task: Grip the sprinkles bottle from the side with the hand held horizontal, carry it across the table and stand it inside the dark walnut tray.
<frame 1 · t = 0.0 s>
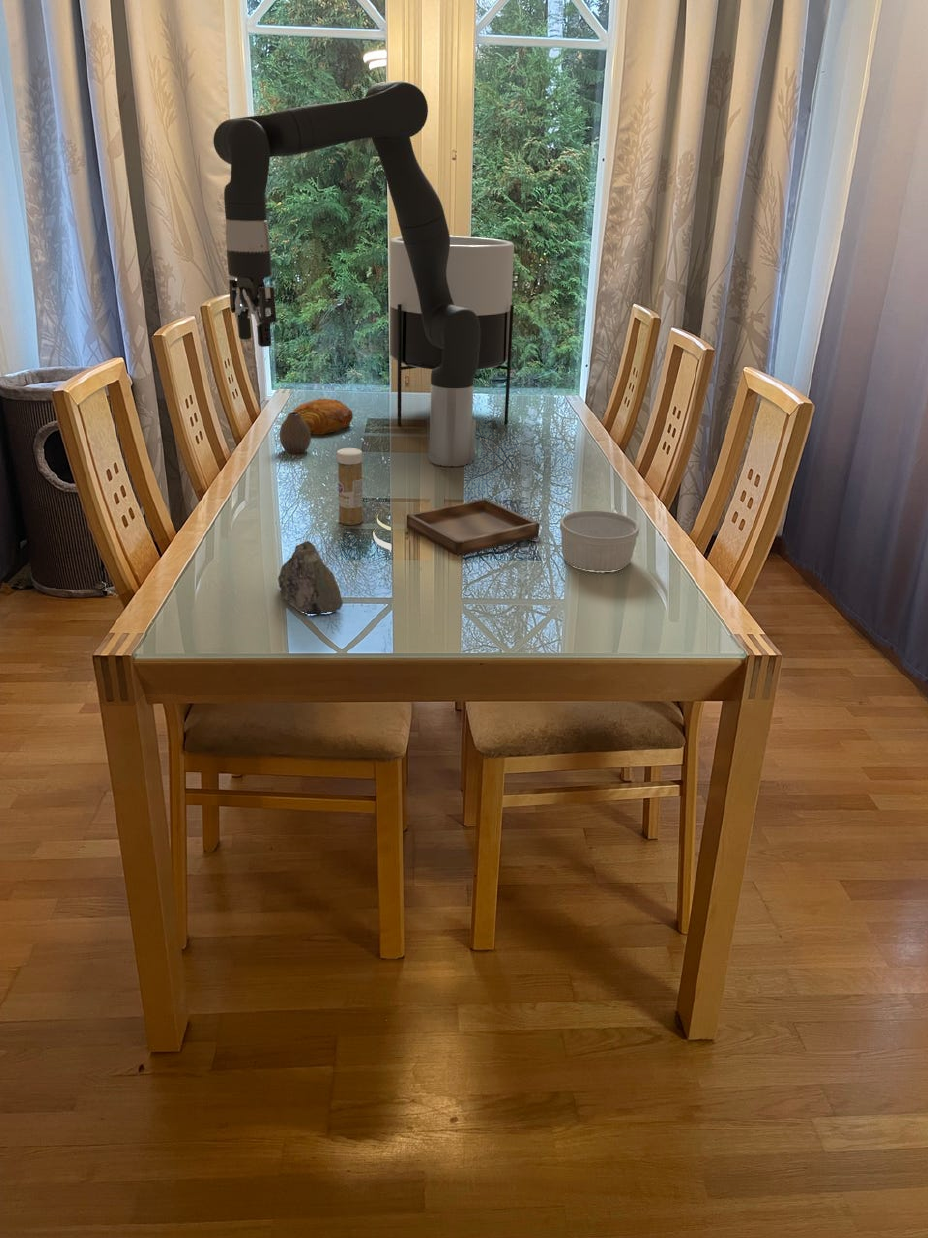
hand: (254, 342, 170), 29 cm above the table, tool pointing down, fingers open, 8 cm apart
planter: (448, 418, 242), on the table
sprinkles bottle: (351, 522, 171), on the table
walnut tray: (472, 531, 168), on the table
vase: (296, 452, 210), on the table
mineral rock: (310, 601, 140), on the table
ramekin: (595, 562, 158), on the table
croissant: (321, 428, 230), on the table
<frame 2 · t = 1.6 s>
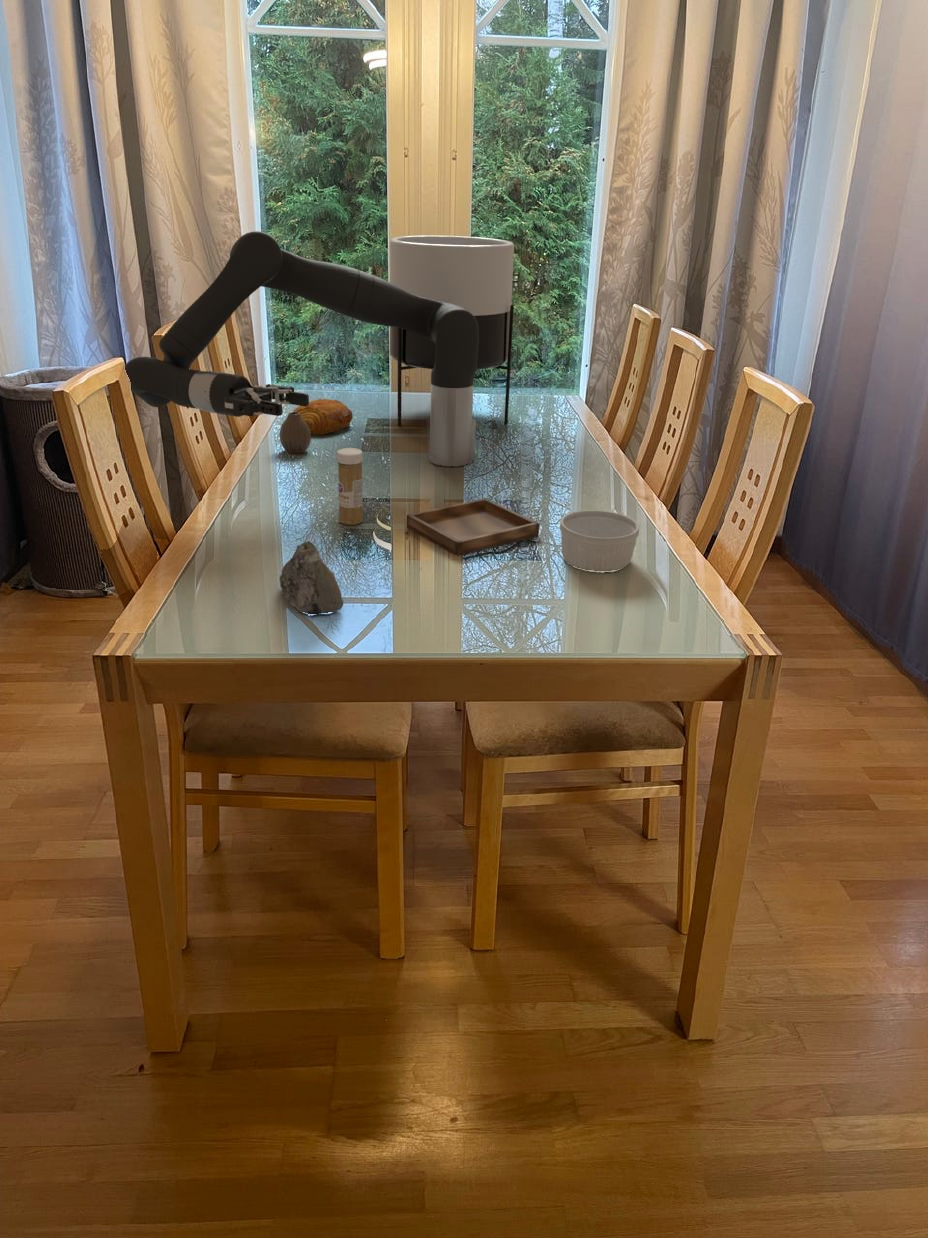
hand: (294, 404, 165), 20 cm above the table, tool horizontal, fingers open, 8 cm apart
nothing on the table moved.
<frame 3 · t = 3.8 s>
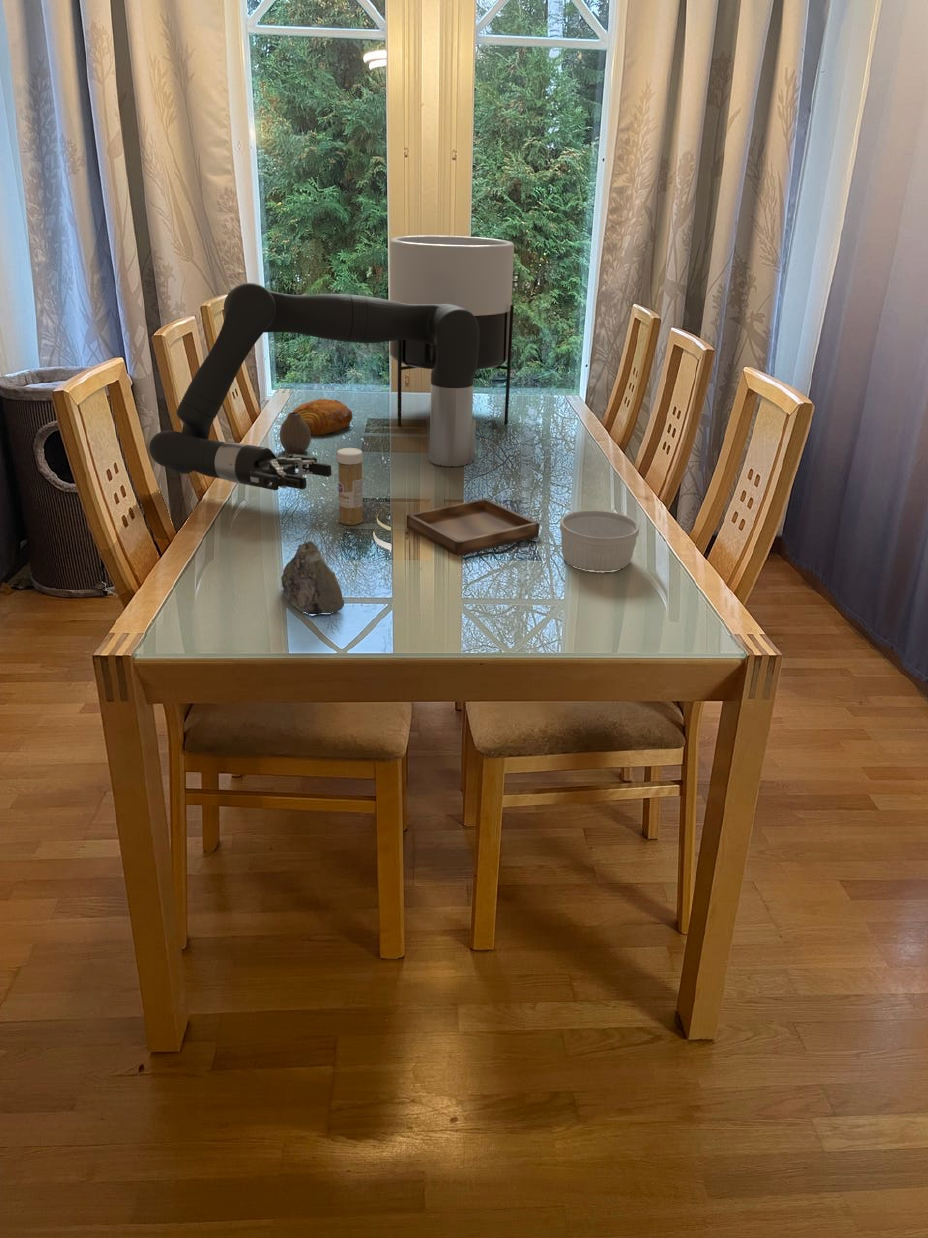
hand: (318, 477, 170), 7 cm above the table, tool horizontal, fingers open, 8 cm apart
nothing on the table moved.
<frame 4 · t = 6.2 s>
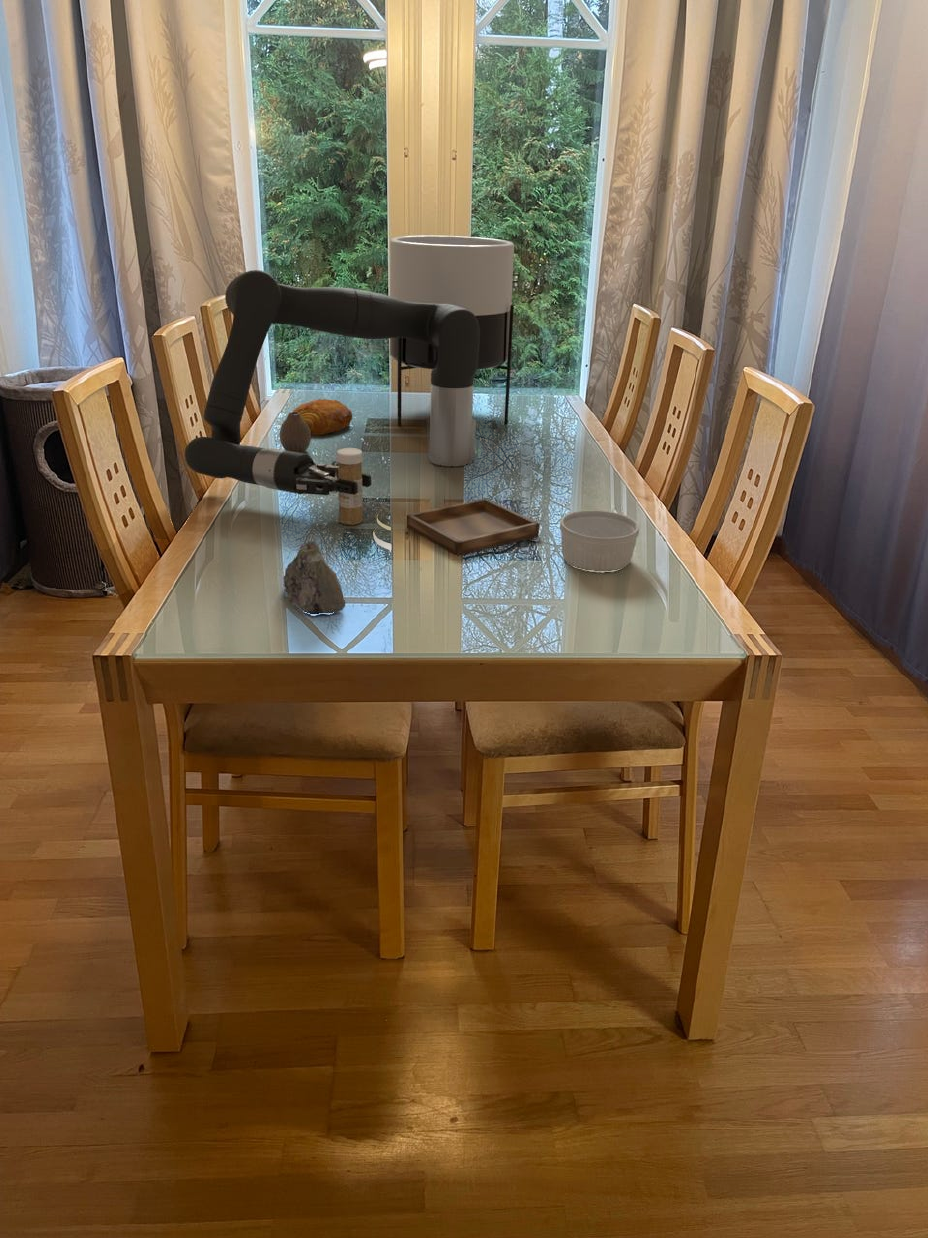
hand: (363, 484, 166), 8 cm above the table, tool horizontal, fingers closed on sprinkles bottle, 4 cm apart
sprinkles bottle: (351, 522, 171), on the table, touching gripper
everything else where it was.
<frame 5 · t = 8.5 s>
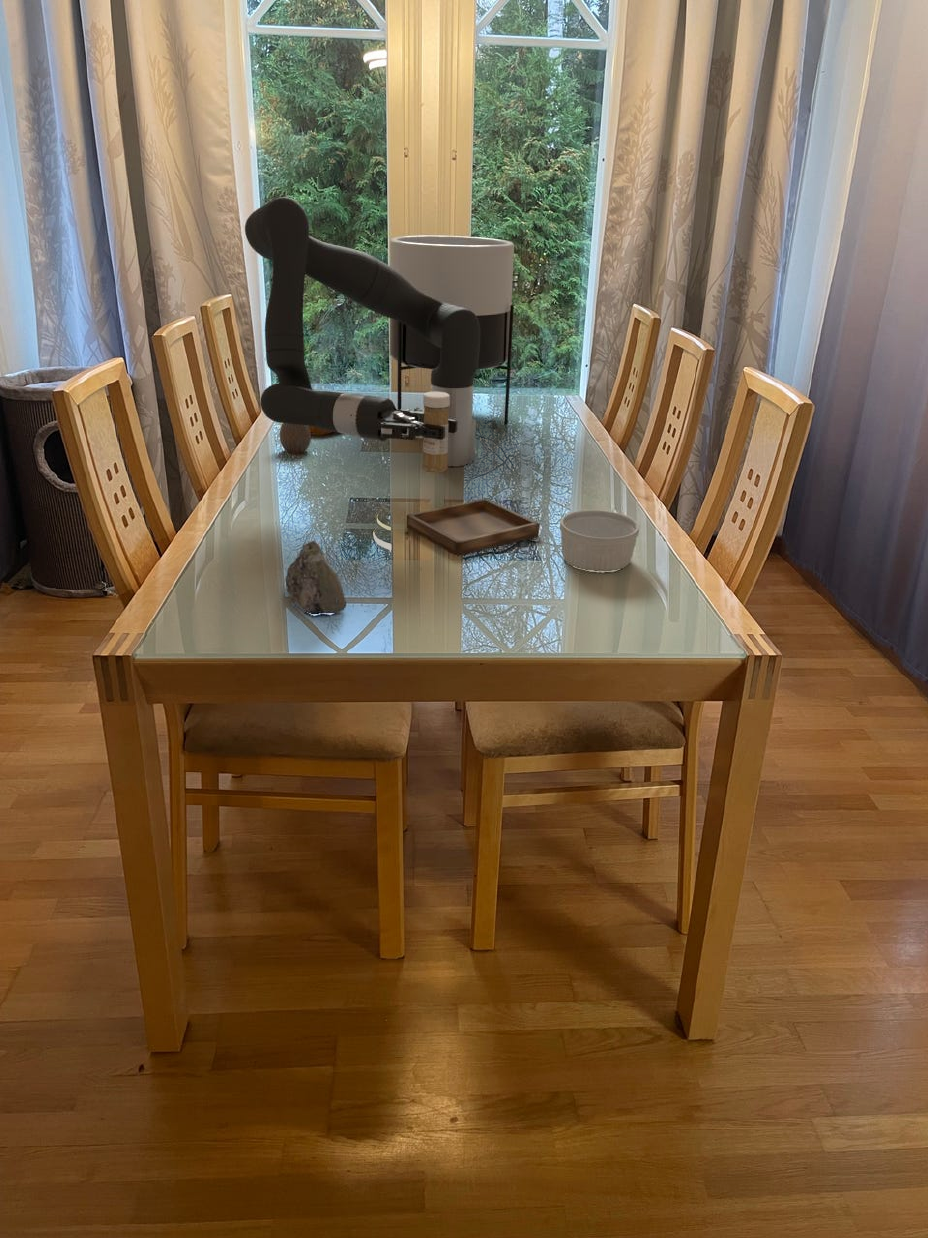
hand: (450, 429, 159), 19 cm above the table, tool horizontal, fingers closed on sprinkles bottle, 4 cm apart
sprinkles bottle: (434, 470, 164), point 11 cm above the table, touching gripper
everything else where it was.
when the fingers open (9 cm above the table, at t = 11.1 s): sprinkles bottle drops 1 cm, resting on walnut tray.
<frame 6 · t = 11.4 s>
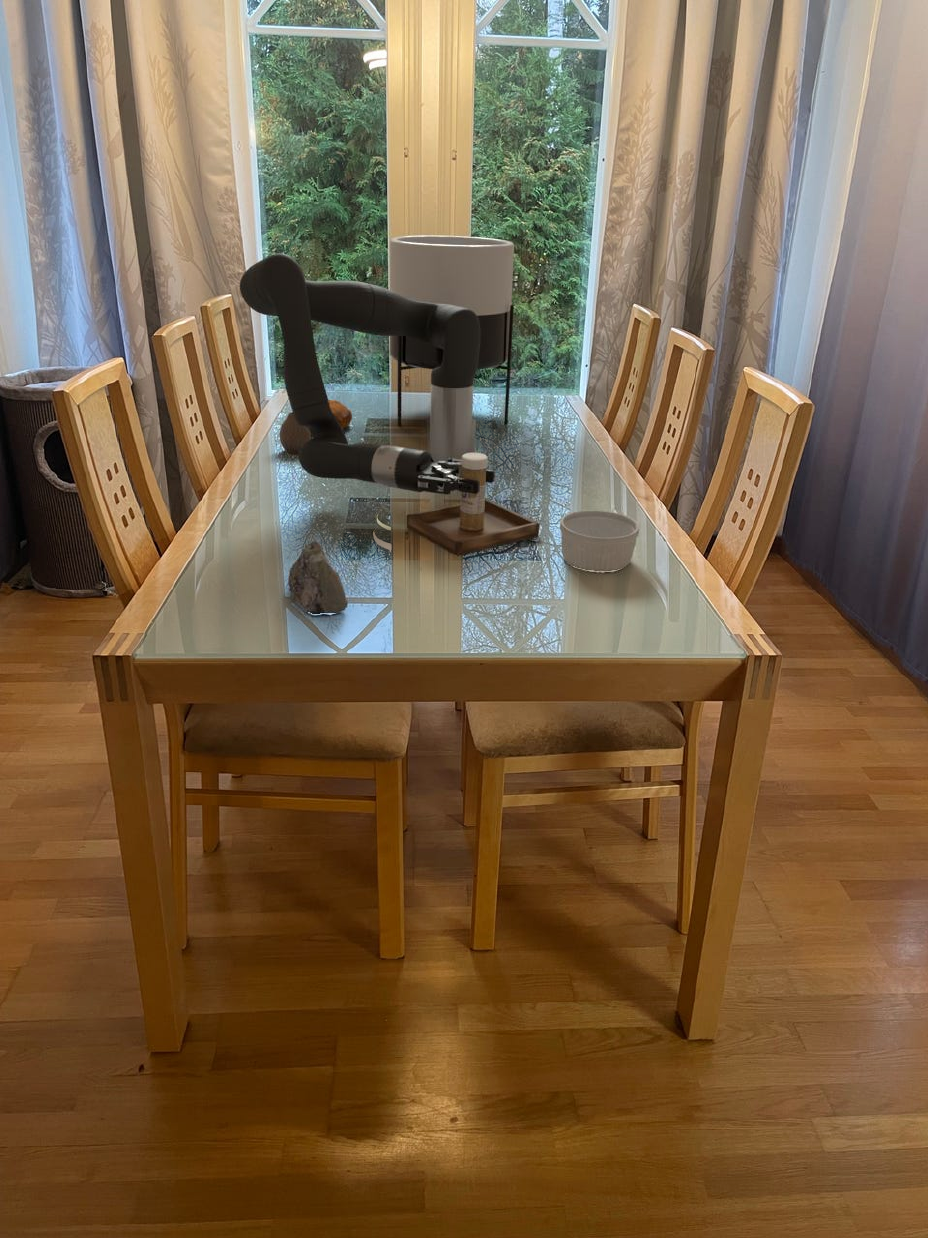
hand: (486, 482, 163), 10 cm above the table, tool horizontal, fingers open, 6 cm apart
sprinkles bottle: (471, 528, 168), point 1 cm above the table, touching walnut tray
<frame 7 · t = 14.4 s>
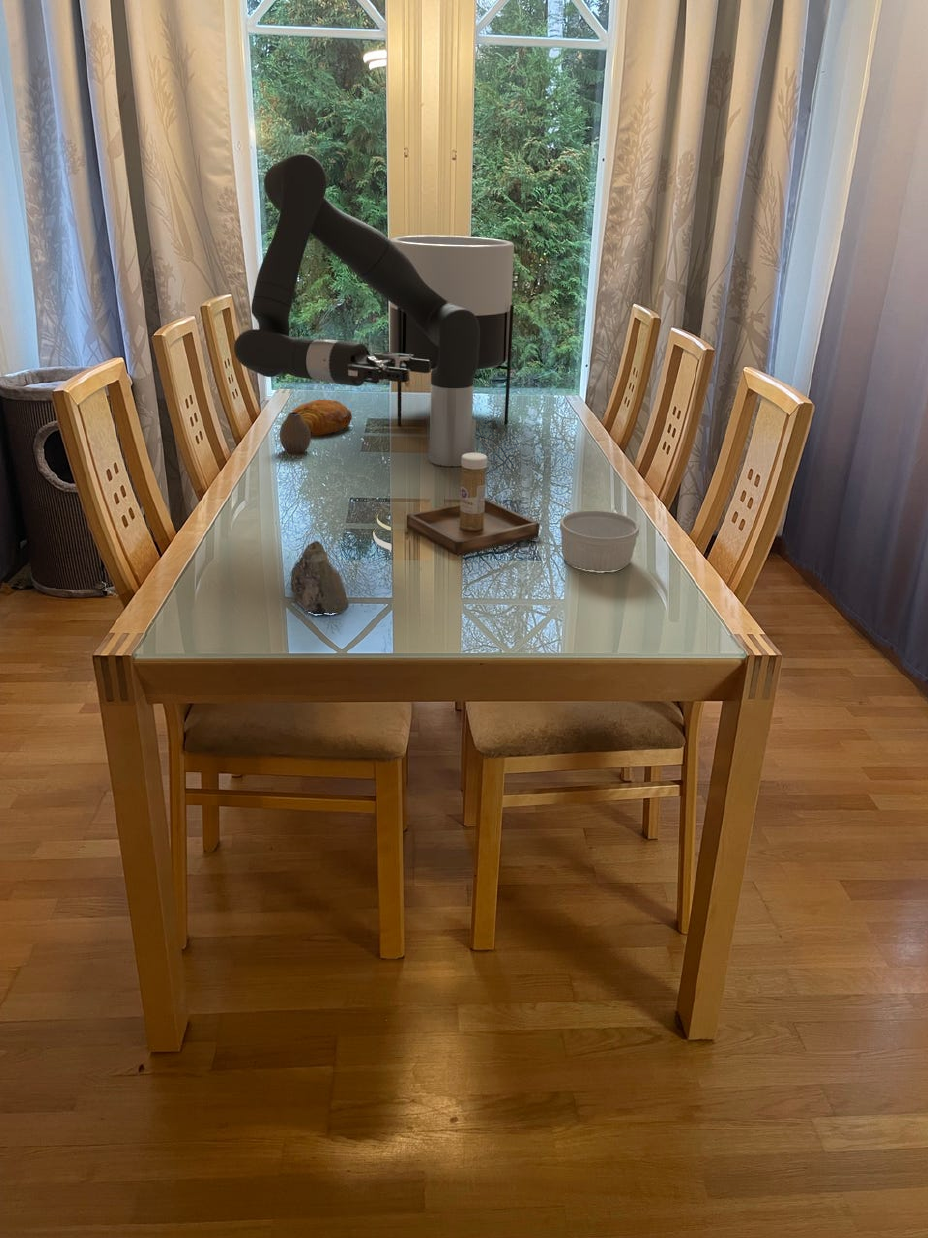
hand: (419, 371, 159), 28 cm above the table, tool horizontal, fingers open, 8 cm apart
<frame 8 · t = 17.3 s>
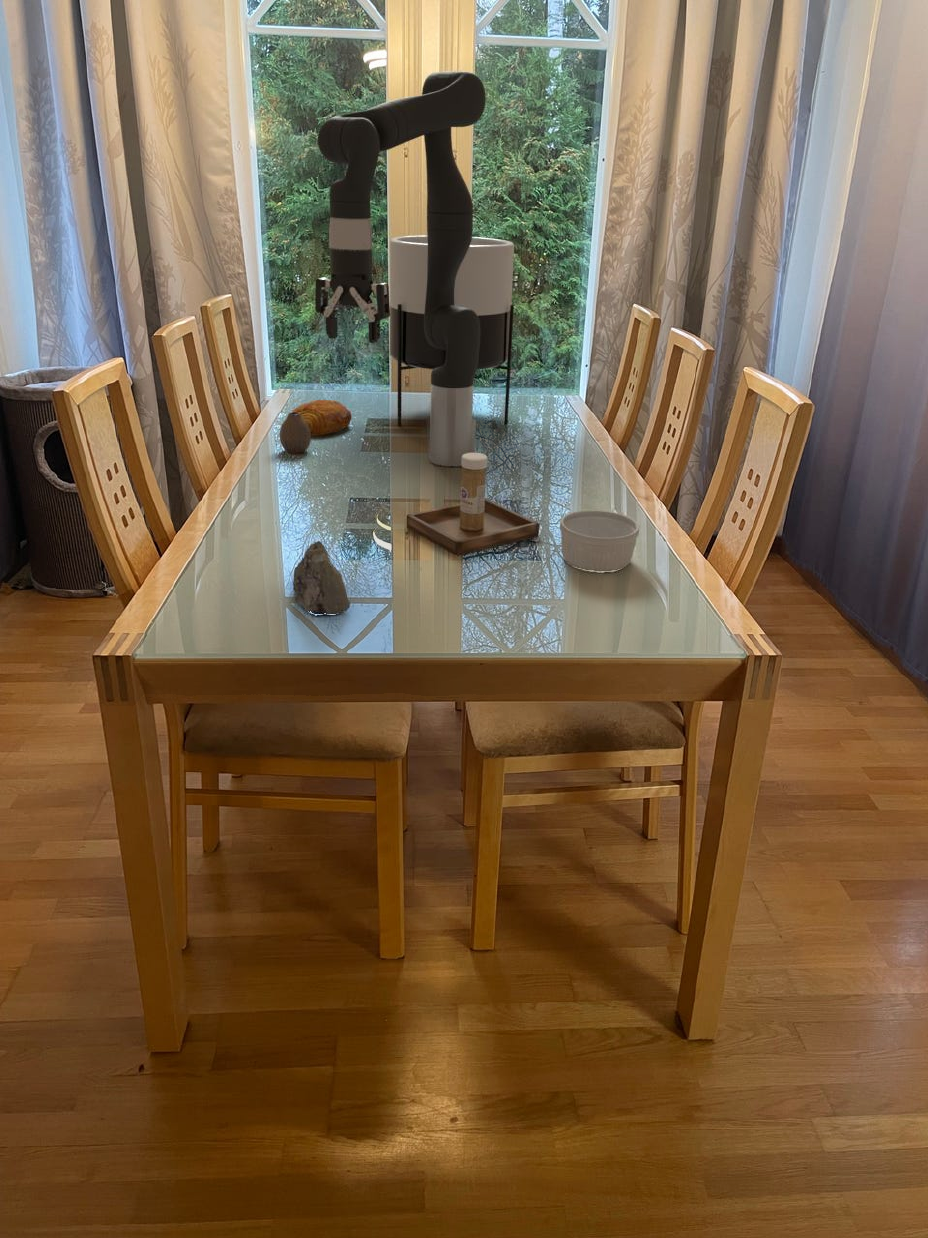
hand: (352, 340, 170), 30 cm above the table, tool pointing down, fingers open, 8 cm apart
at the end: sprinkles bottle inside the target area on the walnut tray (0.2 cm from its centre), point 0.6 cm above the walnut tray's base; sprinkles bottle tilted 0°; the gripper is holding nothing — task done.
